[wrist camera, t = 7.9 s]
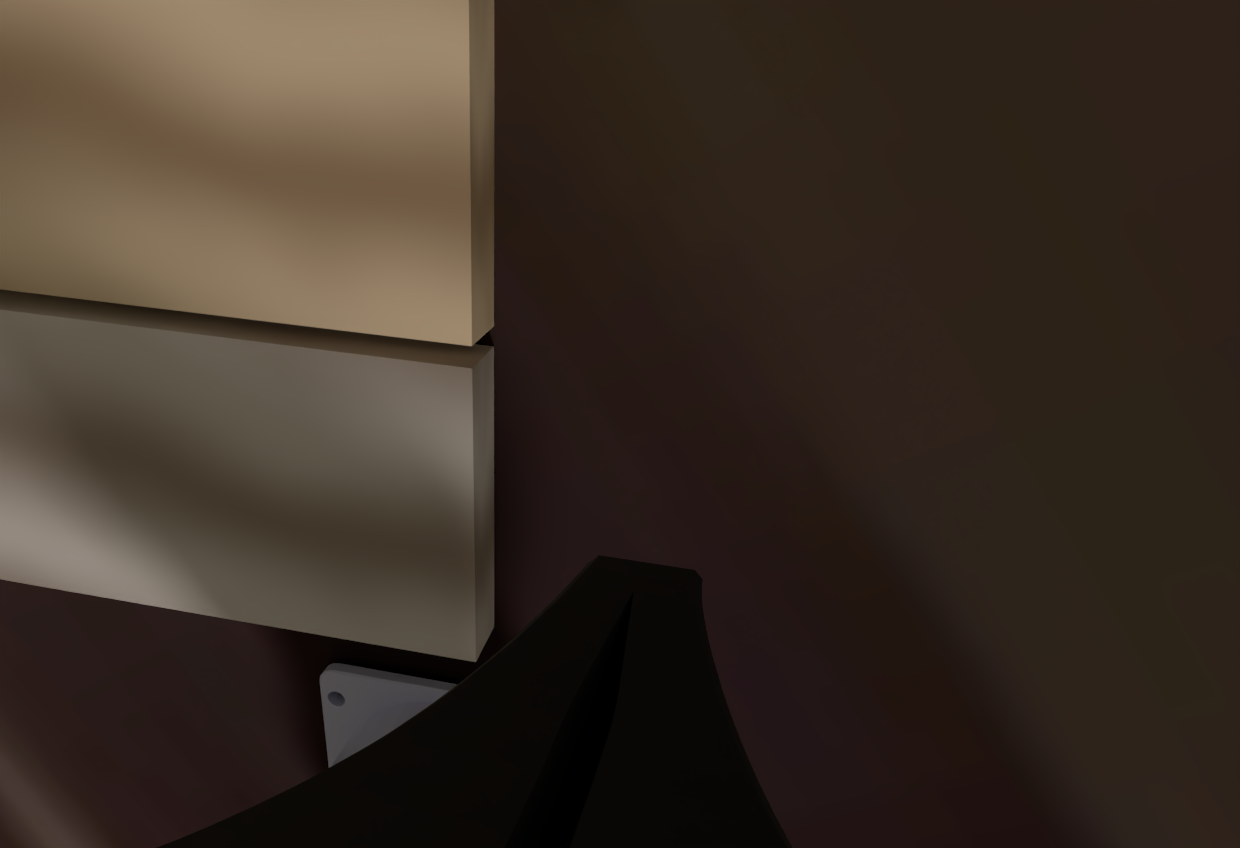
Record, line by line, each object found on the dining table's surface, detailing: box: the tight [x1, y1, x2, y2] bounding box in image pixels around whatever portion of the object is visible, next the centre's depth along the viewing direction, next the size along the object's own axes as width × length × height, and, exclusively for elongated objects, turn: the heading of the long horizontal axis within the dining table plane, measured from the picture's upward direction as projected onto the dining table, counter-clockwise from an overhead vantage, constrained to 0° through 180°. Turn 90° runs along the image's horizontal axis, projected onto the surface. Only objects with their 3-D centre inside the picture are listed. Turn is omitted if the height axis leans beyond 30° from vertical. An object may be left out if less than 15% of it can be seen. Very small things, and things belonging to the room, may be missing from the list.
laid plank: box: [0, 289, 494, 662], centre depth 23 cm, size 8×22×2 cm, turn 87°
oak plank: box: [0, 0, 494, 346], centre depth 19 cm, size 8×22×2 cm, turn 87°
